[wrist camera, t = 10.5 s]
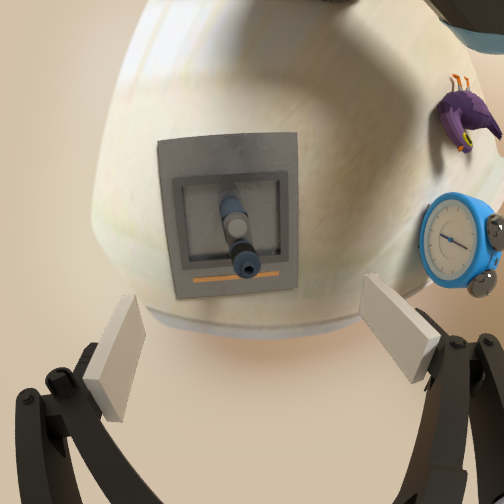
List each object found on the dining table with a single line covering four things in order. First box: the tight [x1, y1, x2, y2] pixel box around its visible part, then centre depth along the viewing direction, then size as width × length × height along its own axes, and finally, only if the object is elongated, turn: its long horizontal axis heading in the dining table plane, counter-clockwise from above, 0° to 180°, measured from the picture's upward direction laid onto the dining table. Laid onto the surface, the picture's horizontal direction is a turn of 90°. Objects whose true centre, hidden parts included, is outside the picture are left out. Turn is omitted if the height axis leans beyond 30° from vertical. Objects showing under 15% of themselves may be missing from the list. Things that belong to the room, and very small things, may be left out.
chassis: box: [158, 132, 298, 299], centre depth 34 cm, size 20×16×2 cm
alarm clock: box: [418, 192, 504, 298], centre depth 32 cm, size 13×6×15 cm, turn 174°
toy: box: [438, 74, 502, 153], centre depth 29 cm, size 11×12×7 cm
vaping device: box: [219, 198, 261, 279], centre depth 29 cm, size 3×5×12 cm, turn 9°
